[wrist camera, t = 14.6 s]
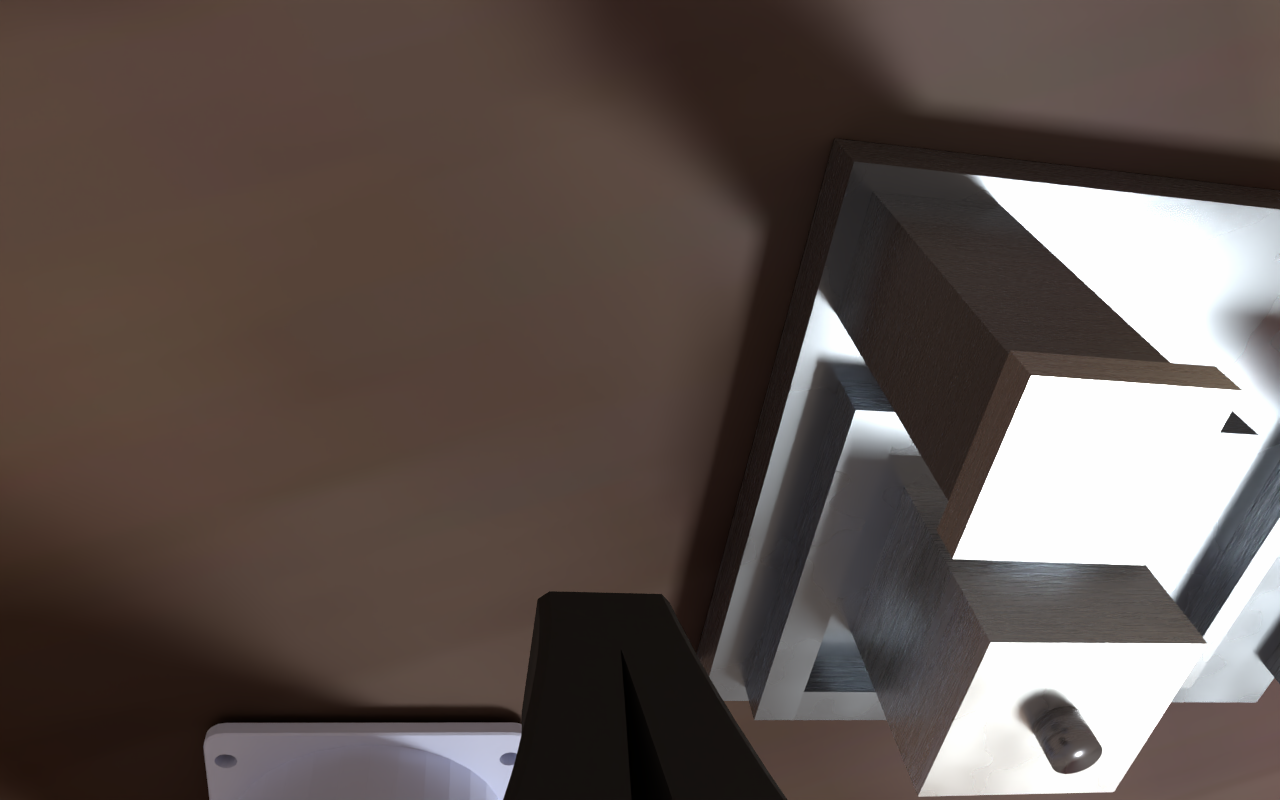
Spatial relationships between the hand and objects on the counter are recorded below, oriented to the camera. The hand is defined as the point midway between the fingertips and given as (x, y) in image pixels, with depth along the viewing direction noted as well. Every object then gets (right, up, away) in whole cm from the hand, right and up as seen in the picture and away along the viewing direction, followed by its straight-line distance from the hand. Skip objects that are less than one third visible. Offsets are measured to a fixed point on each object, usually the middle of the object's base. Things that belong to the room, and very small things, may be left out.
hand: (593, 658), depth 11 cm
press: (+11, +1, +13) cm, 17 cm away
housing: (+8, -1, +13) cm, 15 cm away
